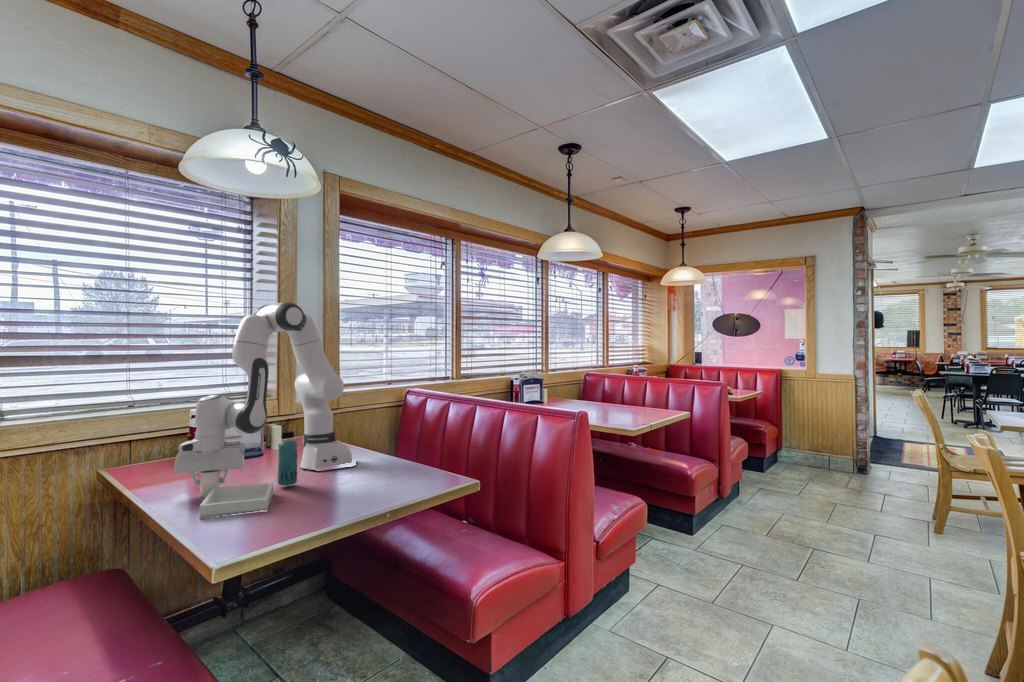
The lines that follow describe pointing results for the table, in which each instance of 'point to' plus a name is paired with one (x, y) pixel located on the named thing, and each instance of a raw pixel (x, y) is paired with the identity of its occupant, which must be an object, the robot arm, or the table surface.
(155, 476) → the table surface
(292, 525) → the table surface
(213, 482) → the cup
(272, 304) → the robot arm
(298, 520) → the table surface
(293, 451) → the beverage bottle
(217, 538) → the table surface
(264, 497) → the tray
